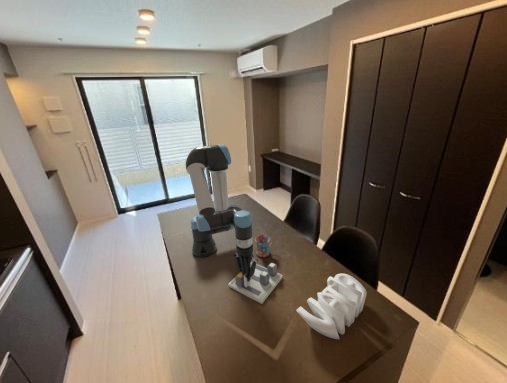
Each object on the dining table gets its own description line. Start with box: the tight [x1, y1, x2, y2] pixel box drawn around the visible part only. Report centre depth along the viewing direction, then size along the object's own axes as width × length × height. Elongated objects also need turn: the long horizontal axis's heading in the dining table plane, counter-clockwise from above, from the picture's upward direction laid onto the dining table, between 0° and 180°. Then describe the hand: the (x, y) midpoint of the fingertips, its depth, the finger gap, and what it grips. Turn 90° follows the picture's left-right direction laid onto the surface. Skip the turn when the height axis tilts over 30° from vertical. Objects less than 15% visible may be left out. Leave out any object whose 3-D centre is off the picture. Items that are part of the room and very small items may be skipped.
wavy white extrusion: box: [295, 272, 368, 340], centre depth 96 cm, size 35×16×10 cm, turn 128°
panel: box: [228, 261, 283, 304], centre depth 115 cm, size 20×20×7 cm
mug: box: [254, 234, 274, 258], centre depth 137 cm, size 12×9×11 cm
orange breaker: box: [235, 272, 244, 288], centre depth 112 cm, size 4×4×6 cm
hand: (247, 285), depth 111 cm, fingers closed
